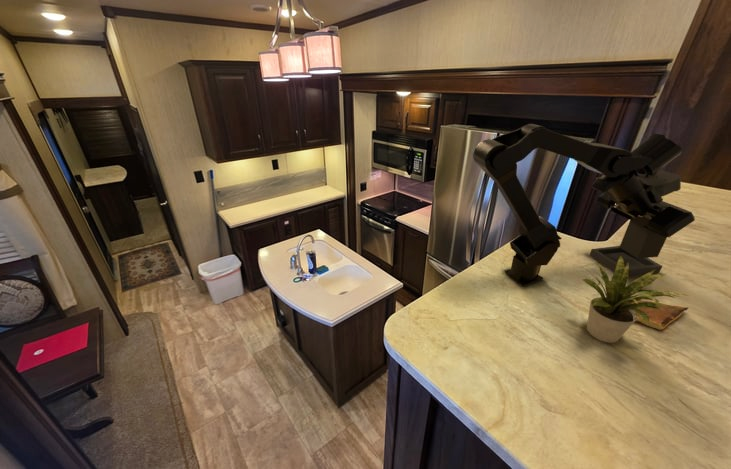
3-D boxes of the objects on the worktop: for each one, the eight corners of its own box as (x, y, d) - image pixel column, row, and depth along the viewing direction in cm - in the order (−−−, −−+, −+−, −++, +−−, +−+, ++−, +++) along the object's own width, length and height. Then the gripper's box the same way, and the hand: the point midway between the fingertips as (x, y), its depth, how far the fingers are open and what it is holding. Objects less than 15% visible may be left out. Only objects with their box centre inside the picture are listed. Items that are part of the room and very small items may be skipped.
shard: (685, 312, 61) (689, 306, 60) (705, 340, 55) (710, 333, 54) (621, 302, 65) (624, 296, 64) (634, 326, 59) (637, 320, 58)
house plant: (617, 380, 49) (658, 309, 41) (544, 325, 61) (565, 261, 53) (665, 348, 54) (709, 279, 46) (589, 303, 65) (614, 241, 57)
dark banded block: (637, 258, 70) (659, 209, 65) (618, 247, 75) (637, 200, 70) (658, 257, 71) (681, 208, 65) (638, 245, 76) (658, 199, 70)
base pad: (622, 278, 72) (625, 270, 71) (589, 255, 81) (591, 248, 80) (659, 273, 73) (662, 266, 72) (622, 251, 82) (625, 244, 81)
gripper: (710, 174, 54) (735, 222, 59) (626, 151, 70) (651, 191, 75) (651, 215, 57) (679, 257, 63) (584, 185, 74) (611, 220, 79)
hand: (653, 228), depth 70 cm, fingers closed on dark banded block, 5 cm apart
